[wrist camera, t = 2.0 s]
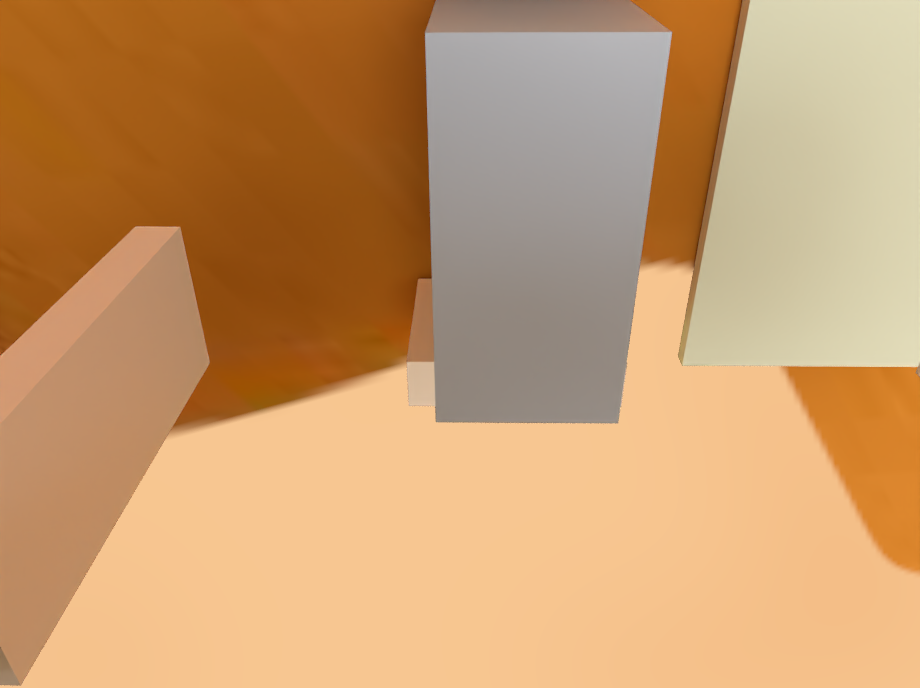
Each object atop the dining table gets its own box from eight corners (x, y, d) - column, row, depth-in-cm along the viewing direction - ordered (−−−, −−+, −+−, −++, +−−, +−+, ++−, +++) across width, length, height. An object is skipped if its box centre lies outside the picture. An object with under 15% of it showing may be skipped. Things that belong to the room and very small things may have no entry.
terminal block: (448, 249, 24) (435, 422, 16) (444, -26, 20) (424, 32, 12) (572, 250, 24) (617, 423, 16) (594, -26, 20) (671, 32, 12)
